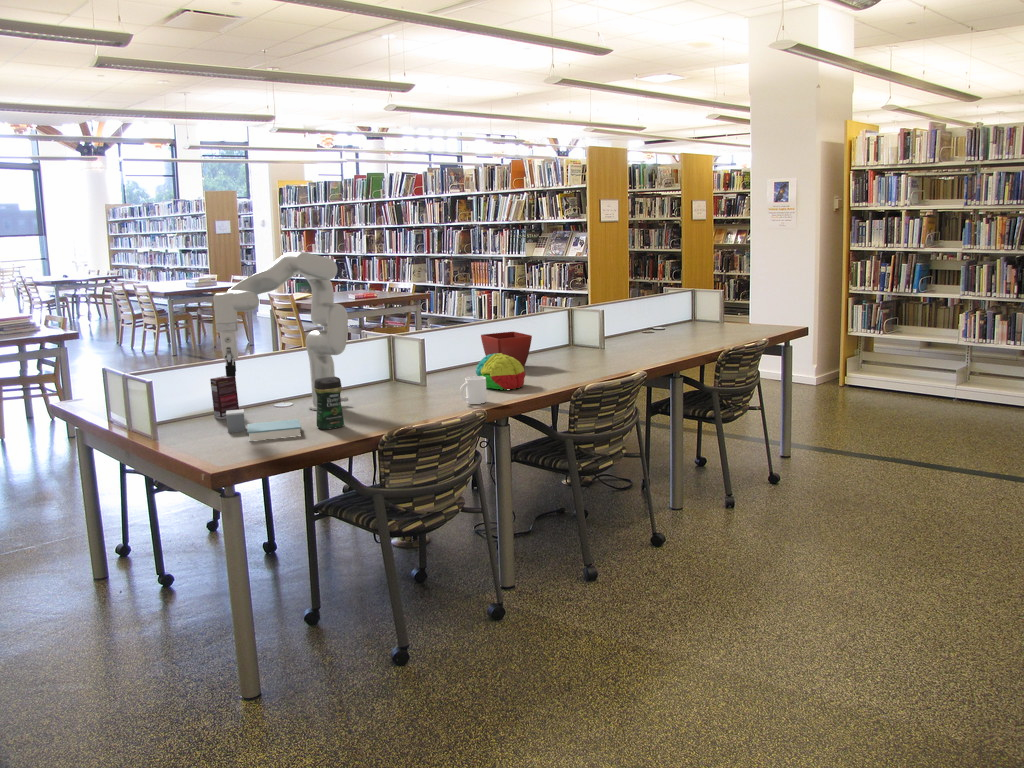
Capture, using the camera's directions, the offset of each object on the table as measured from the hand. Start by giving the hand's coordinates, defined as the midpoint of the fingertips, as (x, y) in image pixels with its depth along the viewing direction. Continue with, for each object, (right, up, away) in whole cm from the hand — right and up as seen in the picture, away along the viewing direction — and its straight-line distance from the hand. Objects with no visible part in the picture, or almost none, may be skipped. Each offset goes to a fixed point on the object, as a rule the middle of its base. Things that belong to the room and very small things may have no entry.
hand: (231, 374), depth 304 cm
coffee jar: (+35, -20, +4) cm, 40 cm away
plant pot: (+99, +4, +112) cm, 149 cm away
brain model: (+97, -5, +68) cm, 118 cm away
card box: (+1, -20, +4) cm, 21 cm away
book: (+17, -22, -5) cm, 28 cm away
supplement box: (-11, -17, +26) cm, 33 cm away
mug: (+86, -12, +36) cm, 94 cm away
